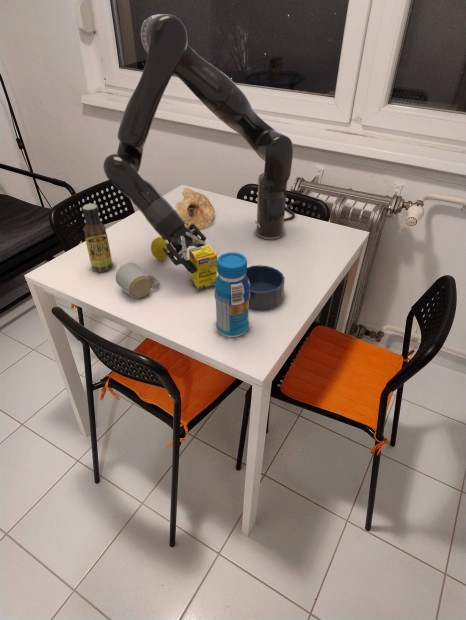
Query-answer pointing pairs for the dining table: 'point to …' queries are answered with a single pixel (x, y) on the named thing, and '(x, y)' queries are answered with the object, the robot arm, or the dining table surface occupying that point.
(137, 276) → the ceramic mug
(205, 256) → the supplement box
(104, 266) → the sauce bottle
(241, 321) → the beverage bottle
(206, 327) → the dining table surface
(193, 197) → the tan lumpy rounded piece
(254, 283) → the dark blue bowl
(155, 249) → the lemon
